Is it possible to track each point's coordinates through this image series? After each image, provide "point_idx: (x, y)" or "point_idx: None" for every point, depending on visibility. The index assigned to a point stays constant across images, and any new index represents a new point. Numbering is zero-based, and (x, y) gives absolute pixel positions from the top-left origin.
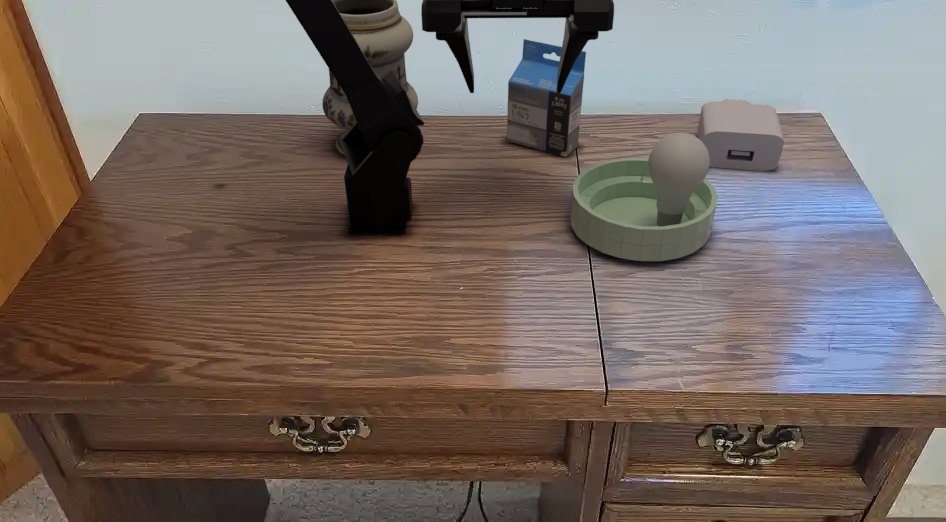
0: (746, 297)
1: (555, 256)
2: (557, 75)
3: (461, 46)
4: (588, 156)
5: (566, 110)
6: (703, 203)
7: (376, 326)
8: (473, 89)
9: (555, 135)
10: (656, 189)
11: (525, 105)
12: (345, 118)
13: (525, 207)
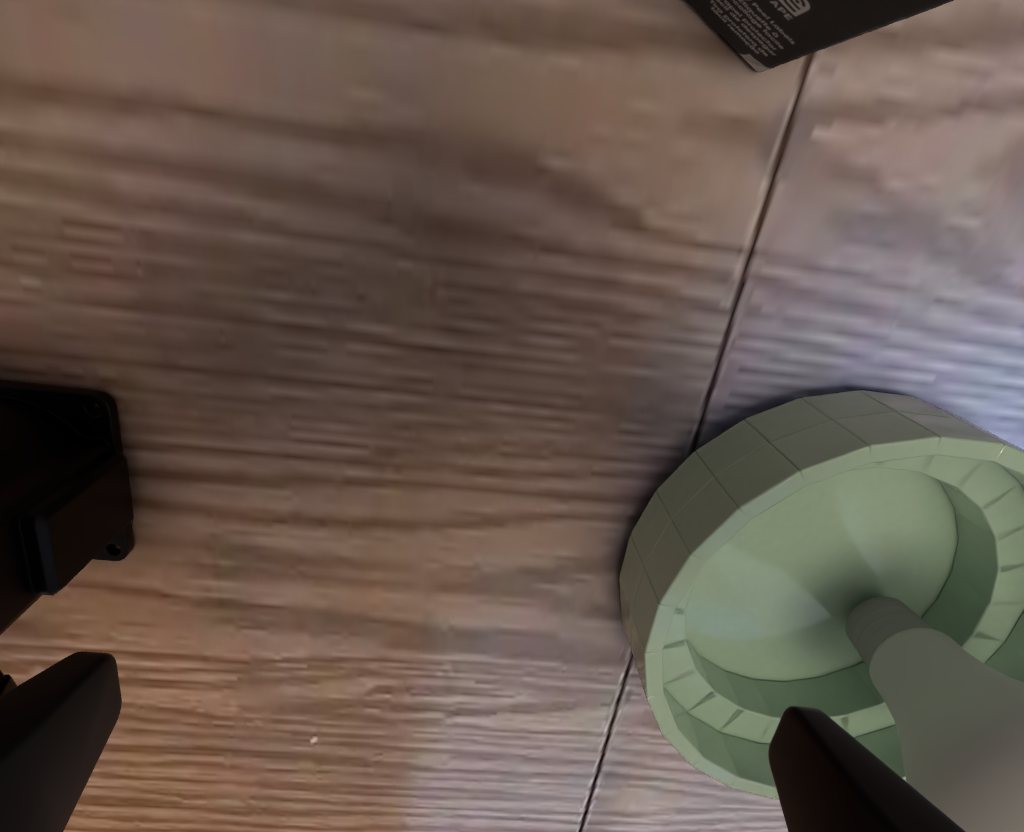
0: None
1: (548, 656)
2: (852, 820)
3: None
4: (855, 71)
5: (887, 6)
6: (1020, 604)
7: (144, 823)
8: (100, 754)
9: (756, 8)
10: (900, 726)
11: None
12: None
13: (511, 437)
